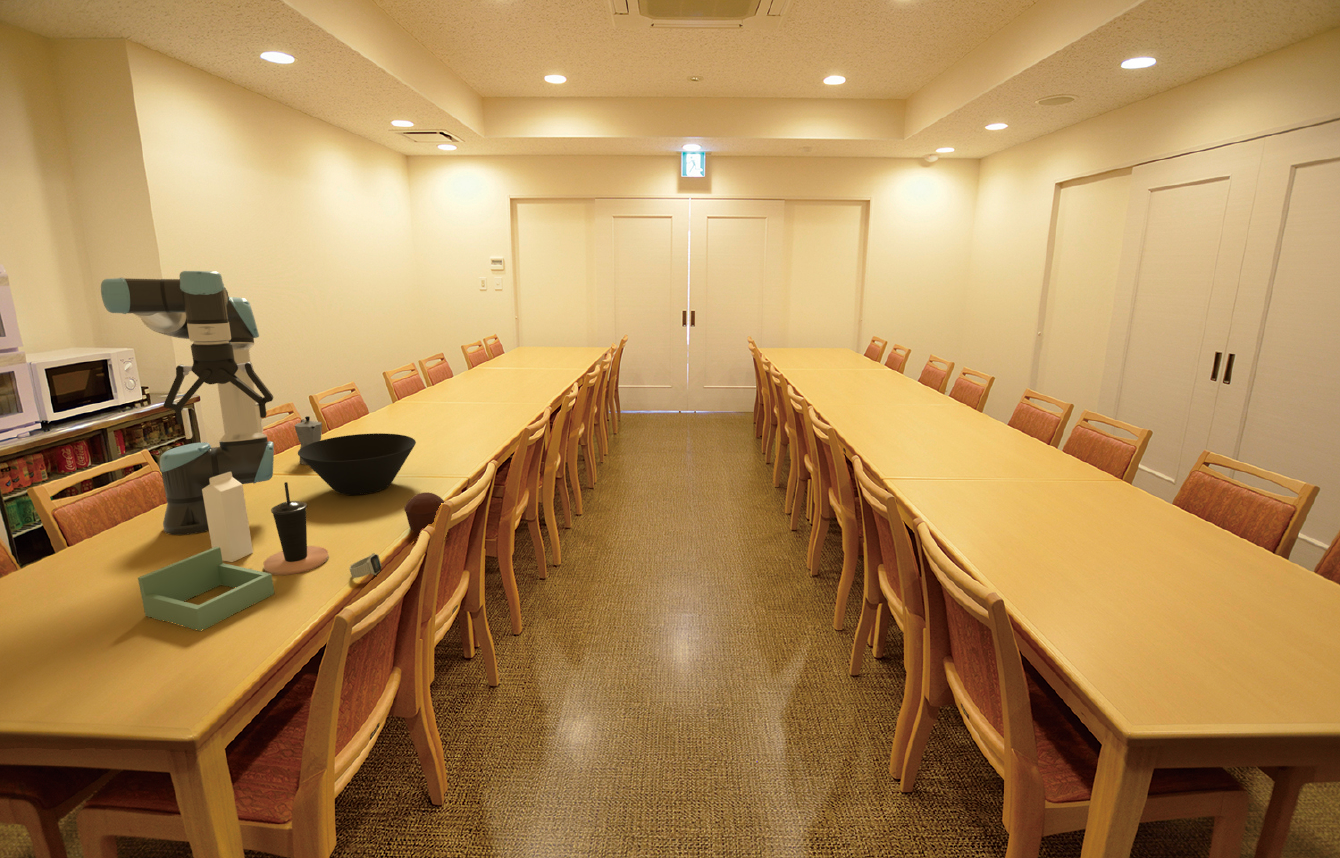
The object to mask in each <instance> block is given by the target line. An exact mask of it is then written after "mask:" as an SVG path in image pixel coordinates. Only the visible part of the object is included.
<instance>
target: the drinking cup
mask: <svg viewBox="0 0 1340 858" xmlns="http://www.w3.org/2000/svg"><path fill="white" fill-rule="evenodd" d="M284 490H285V497H286V498H285V499H286V501H284V502H281V503H279V504H277V505H275V506H273V507H272V508H271V509H270V512H271V513H272V514H273V515H272V516H273V519H274V523H275V527H276V530H277V534H278V538H279V542H280V544H281V550H282V551H283V554H284V558H285V561H287V562H295V561H300V560H303V559H305V558H306V557H307V546H308V535H307V532H308V531H307V530H308V529H307V508H308V504H307V503H306V502H304V501H298V500H291V499H290V498H291V497H290V493H289V492H290V490H289V484H288V482H284Z"/></svg>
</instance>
